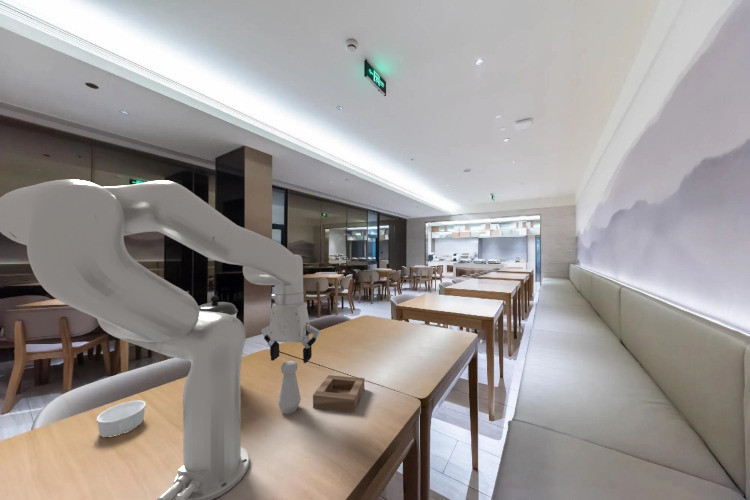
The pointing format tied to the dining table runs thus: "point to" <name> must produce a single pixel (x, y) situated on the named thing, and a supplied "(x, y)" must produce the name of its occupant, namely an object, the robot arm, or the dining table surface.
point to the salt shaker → (289, 388)
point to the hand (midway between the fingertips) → (290, 359)
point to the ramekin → (121, 418)
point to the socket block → (339, 393)
